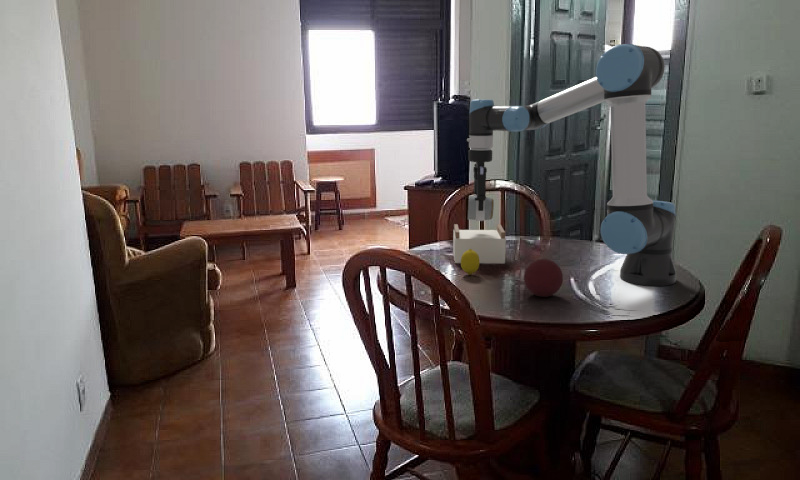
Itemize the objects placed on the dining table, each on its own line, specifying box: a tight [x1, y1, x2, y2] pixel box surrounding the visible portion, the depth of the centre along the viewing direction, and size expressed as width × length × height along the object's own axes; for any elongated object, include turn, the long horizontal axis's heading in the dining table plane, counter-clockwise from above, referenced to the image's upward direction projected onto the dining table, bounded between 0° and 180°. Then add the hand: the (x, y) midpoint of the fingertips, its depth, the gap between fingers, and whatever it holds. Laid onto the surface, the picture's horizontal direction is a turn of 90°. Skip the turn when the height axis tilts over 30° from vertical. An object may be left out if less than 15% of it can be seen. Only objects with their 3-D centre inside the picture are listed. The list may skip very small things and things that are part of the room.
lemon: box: [460, 249, 480, 276], centre depth 187 cm, size 6×6×8 cm
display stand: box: [452, 223, 507, 264], centre depth 207 cm, size 14×16×10 cm
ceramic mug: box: [467, 195, 495, 221], centre depth 204 cm, size 11×8×8 cm
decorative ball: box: [523, 258, 564, 298], centre depth 166 cm, size 10×10×10 cm
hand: (478, 217), depth 205 cm, fingers closed on ceramic mug, 11 cm apart
